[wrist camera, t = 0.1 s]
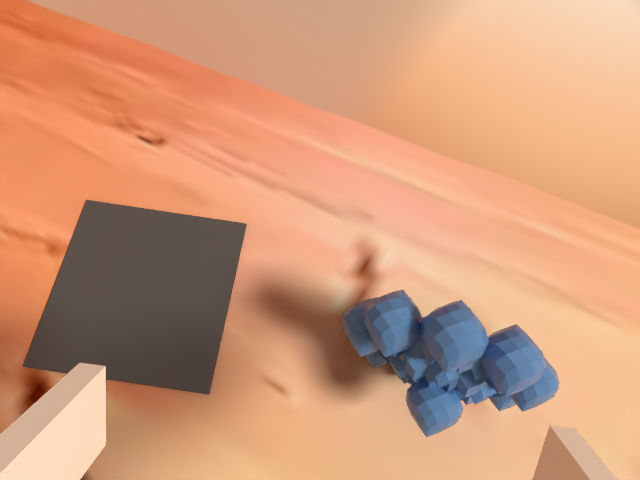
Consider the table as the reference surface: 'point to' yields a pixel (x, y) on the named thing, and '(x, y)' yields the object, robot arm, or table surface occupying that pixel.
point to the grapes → (449, 358)
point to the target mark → (141, 297)
